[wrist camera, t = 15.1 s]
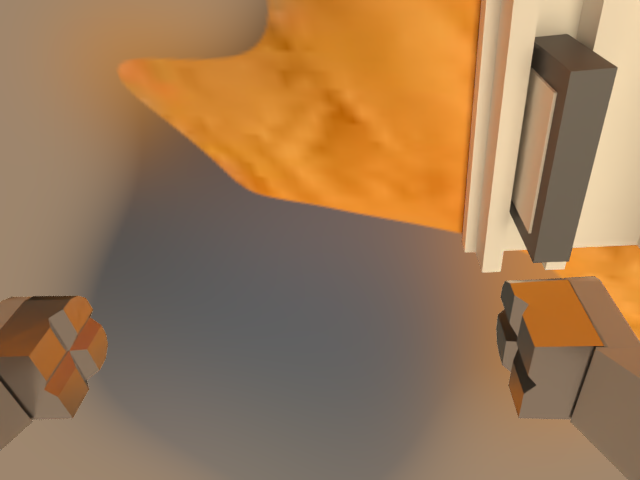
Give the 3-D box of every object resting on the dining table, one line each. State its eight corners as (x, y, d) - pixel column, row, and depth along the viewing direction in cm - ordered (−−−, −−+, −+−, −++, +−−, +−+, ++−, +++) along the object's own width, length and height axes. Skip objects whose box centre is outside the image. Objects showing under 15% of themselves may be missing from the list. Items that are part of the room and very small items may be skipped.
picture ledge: (484, -41, 32) (583, 9, 18) (761, -74, 30) (1121, -46, 16) (461, 243, 46) (506, 397, 32) (649, 234, 44) (786, 394, 30)
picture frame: (527, 37, 33) (567, 71, 27) (570, 33, 33) (621, 67, 26) (504, 205, 41) (530, 263, 35) (538, 204, 41) (571, 261, 35)
